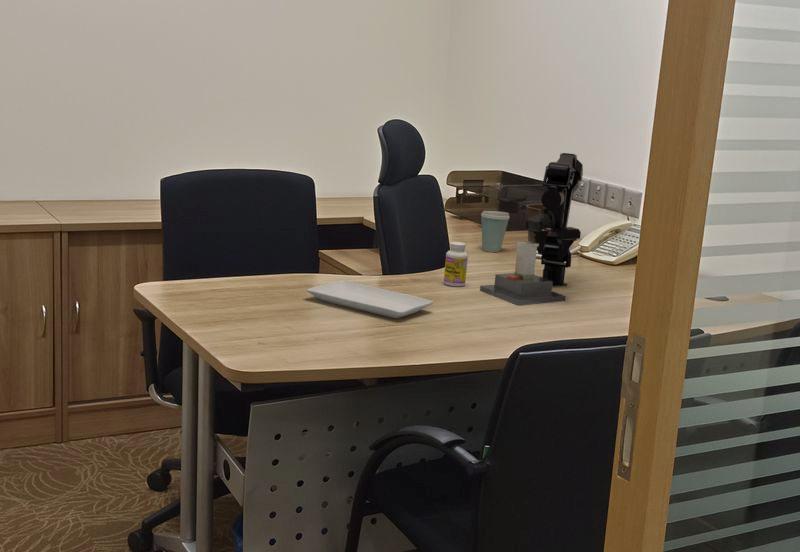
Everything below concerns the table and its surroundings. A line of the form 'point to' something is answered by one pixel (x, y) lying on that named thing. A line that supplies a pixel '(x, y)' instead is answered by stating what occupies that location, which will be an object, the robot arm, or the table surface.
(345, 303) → the tray
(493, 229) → the disposable coffee cup
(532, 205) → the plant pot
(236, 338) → the table surface
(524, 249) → the column
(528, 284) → the red button base
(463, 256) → the supplement bottle
